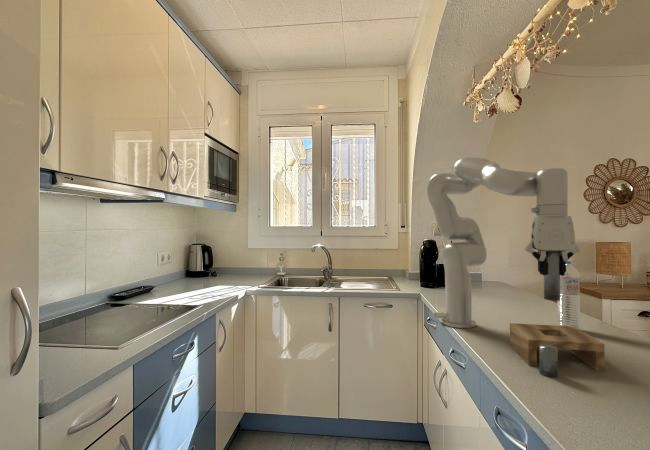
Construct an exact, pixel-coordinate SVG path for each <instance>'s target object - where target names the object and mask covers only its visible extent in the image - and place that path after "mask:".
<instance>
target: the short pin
mask: <svg viewBox="0 0 650 450" xmlns="http://www.w3.org/2000/svg"><path fill="white" fill-rule="evenodd" d="M538 352H539V354H538V355H539V356H538V357H539V360H538V361H539V374H540V375H541V376H544V377H547V378H551V379H553V378H554V379H555V378H558V377H559V349H558V348H557V347H556V346H553V345H548V344H540V345H539V349H538Z"/></svg>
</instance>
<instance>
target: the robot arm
mask: <svg viewBox="0 0 650 450" xmlns="http://www.w3.org/2000/svg"><path fill="white" fill-rule="evenodd" d="M453 169H454V170H453V171H454V173H452V172H451V173H450V172H439V173H436V174H433V175H432V176H431V177H430V178H429V180H428V182H427V186H426V194H427V199H428V201H429V203H430V205H431V208H432V211H433V213H434V217H435V220H436V224H437V228H438V231H439V234H440V237H441V238H442V239H443V240H446V241H458V242H451V243H448V244H447V245H445V246H444V248H443V249H442V252H441V255H442V256H441V258H442V263H443V268H444V285H445V287H444V288H445V290H444V294H445V303H444V305H445V309H443V311H440V312H438V311H433V312H432V315H433V318H436V319H441V320H440V321H441V323H442V324H443V325H445V326H447V327H452V328H457V329H458V328H459V329H471V328H474V327H476V326H477V322H476V320H475V319H473V318H472V317H473V315H472V313H473V312H472V310H473V308H472V297H473V296H472V277H471V274H470V272H469V269H468V267H477V266H481V265H483V264H484V263H485V261H486V260H487V248H486V245H485V243H484V239H483V235H482V233H481V230H480V227H479V224H478V223H477V222H476V221H475V219H473V218H471V217H468V216H459V214H458V211H457V208H456V205H455V204H454V201H453V200H452V199H451V198H449V196H448V195H461V196H462V195H466V194H468V193H470V192H472V191H474V190H475V189H476V188H477V187H480V186H483V187H485V188H486V189H488V190H489V191H493V192H496V193H499V194H502V195H506V196H511V197H532V198H533V197H536V206H535V207H531V209H530V212H531V213H535V215H536V216H534V217H533V219H532V220H533V221H532V225H531V233H530V241H529V242H528V244H527V245H526V246H525V248H524V251H525V252H527V253H528V254H530V255H531V256H533V258H534V259H535V260H537V271H538V272H539V274H540V275H542V276H544V275H546V274H547V263H546V261H545V254H546V251H560V275H562V276H564V275H565V272H566V262H567V261H569V259H571V257H573V256H575V255H576V254H578V253H579V252H581V249H580V248H579V247H578V245H577V244H576V235H575V227H574V222H573V217H572V216H571V215H570V216H569V215H568V214H569V213H568V210H569V209H568V203H569V202H568V201H569V200H568V199H569V197H568V195H569V193H568V192H569V191H568V190H569V189H568V184H569V183H568V181H569V180H568V179H569V178H568V171H567V170H566V168H565V169H564V168H561V167H560V168H559V167H557V168H556V167H555V168H553V167H552V168H544V169H541V170H539V171H538V172H532V171H523V170H522V171H521V170H511V169H507V168H502V167H501V165H500V164H499V163H497V162H494V161H490V160H489V159H486V158H481V157H472V156H471V157H470V156H468V157H462V158H459V160H457V161H456V162H455V164H454V167H453ZM459 241H460V242H459ZM461 241H462V242H461Z"/></svg>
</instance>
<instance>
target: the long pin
mask: <svg viewBox="0 0 650 450" xmlns="http://www.w3.org/2000/svg"><path fill="white" fill-rule="evenodd" d="M545 261H546V263H547V274H546V275H543V299H544V300H547V301H555V302H557V301H560V251H546V254H545Z"/></svg>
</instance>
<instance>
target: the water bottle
mask: <svg viewBox="0 0 650 450" xmlns="http://www.w3.org/2000/svg"><path fill="white" fill-rule="evenodd" d="M580 277H581V273H580V272H579V271H578V269H577V268H576V267H575V266H573V265H572V261H570V260H568V261H567V262H566V272H565V275H564V276H562V275H560V301H556V303H557V304H556V305H557V306H556V307H557V310H556V313H557V316H556V317H557V318H556V319H557V321H556V322H557V323H556V324H557V326H574V327H576V328H577V329H579V330H581V295H580V293H581V292H580V286H581V285H580Z"/></svg>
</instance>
